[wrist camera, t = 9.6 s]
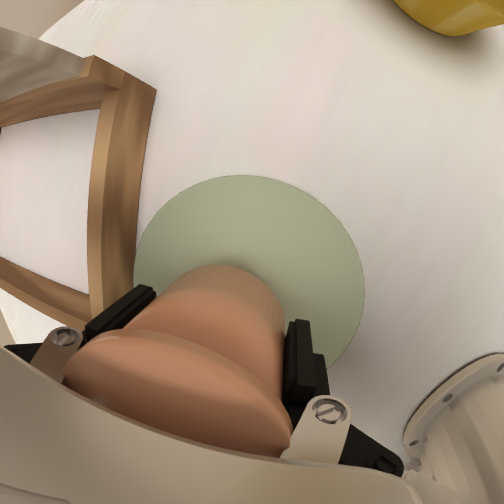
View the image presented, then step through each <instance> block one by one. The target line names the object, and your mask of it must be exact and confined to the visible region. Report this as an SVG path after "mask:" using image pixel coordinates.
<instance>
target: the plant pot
mask: <svg viewBox="0 0 504 504" xmlns="http://www.w3.org/2000/svg"><path fill="white" fill-rule="evenodd" d="M394 2H395V3H396V4H397V5H398V6H399V7H400V8H401V9H402V10H403V11H404V12H405V13H406V14H408V15H409V16H410V17H411V18H413V19H414V20H415V21H417V22H418V23H420V24H421V25H423V26H424V27H426V28H428V29H430V30H432V31H435V32H437V33H440V34H443V35H447V36H461V35H465V34H468V33H471V32H474V31H477V30H481V29H485V28H489V27H493V26H497V25H502V24H504V0H394Z"/></svg>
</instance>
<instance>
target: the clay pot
mask: <svg viewBox="0 0 504 504" xmlns="http://www.w3.org/2000/svg"><path fill="white" fill-rule="evenodd" d="M285 336H286V322H285V315H284V312H283V309H282V306H281V304H280V302H279V300H278V299H277V297H276V296H275V294H274V293H273V292H272V290H271V289H270V288H269V287H268V286H267V285H266V284H265V283H264V282H262V281H261V280H260V279H258V278H257V277H256V276H254V275H252V274H250V273H248V272H247V271H244V270H241V269H239V268H236V267H232V266H227V265H204V266H200V267H196V268H193V269H191V270H189V271H187V272H185V273H184V274H182V275H181V276H180V277H178V278H177V279H176V280H175V281H174V282H173V283H172V284H170V285H169V286H168V287H167V288H166V289H165V290H164V291H163V292H162V293H161V294H159V295H158V296H157V297H156V298H155V299H154V300H153V301H152V302H151V303H150V304H149V305H148V306H146V307H145V308H144V309H143V310H142V311H141V312H140V313H139V314H138V315H137V316H136V317H135V318H134V319H132V320H131V321H130V322H129V323H128V324H127V325H126V326H125V327H124V328H123V329H117V330H110V331H107V332H104V333H101V334H99V335H97V336H96V337H94V338H92V339H91V340H90V341H89V342H88V343H86V344H85V345H84V346H83V347H82V348H81V349H80V350H79V351H77V352H76V353H75V354H74V355H73V356H72V357H71V358H70V359H69V360H68V361H67V363H66V365H65V367H64V369H63V373H62V374H64V375H65V377H66V380H67V383H68V386H69V389H71V390H73V391H74V392H76V393H78V394H80V395H82V396H84V397H86V398H88V399H90V400H92V401H94V402H96V403H98V404H100V405H102V406H104V407H106V408H108V409H110V410H112V411H114V412H117V413H119V414H121V415H124V416H126V417H128V418H131V419H133V420H136V421H138V422H141V423H143V424H146V425H148V426H151V427H154V428H156V429H159V430H162V431H165V432H168V433H171V434H174V435H177V436H180V437H184V438H187V439H190V440H194V441H197V442H201V443H205V444H208V445H212V446H216V447H221V448H225V449H229V450H234V451H239V452H244V453H250V454H255V455H261V456H268V457H274V458H280V456H281V454H282V453H283V451H284V449H285V447H290V439H291V436H292V434H293V425H292V422H291V419H290V416H289V414H288V412H287V411H286V409H285V407H284V406H283V404H282V392H283V375H284V356H285Z"/></svg>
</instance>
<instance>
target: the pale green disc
mask: <svg viewBox="0 0 504 504" xmlns="http://www.w3.org/2000/svg"><path fill="white" fill-rule="evenodd" d="M204 265H227V266H232V267H236V268H239V269H241V270H244V271H247V272H248V273H250V274H252V275H254V276H256V277H257V278H258V279H260V280H261V281H262V282H264V283H265V284H266V285H267V286H268V287H269V288H270V289H271V290H272V292H273V293H274V294H275V296H276V297H277V299H278V300H279V302H280V304H281V306H282V309H283V312H284V315H285V322H286V334H287V330H288V326H289V322H290V321H293V322H295V319H296V318H297V319H302V320H308V321H310V329H311V337H312V346H313V353H317V354H323V355H324V358H325V364H326V369H327V368H328V367H330V366H331V365H332V364H333V363H334V362H335V361H336V360H337V359H338V358H339V357H340V355H341V354H342V353H343V352H344V351H345V349H346V348H347V346H348V345H349V343H350V342H351V340H352V338H353V337H354V334H355V332H356V330H357V328H358V325H359V322H360V319H361V315H362V311H363V305H364V297H365V289H364V276H363V270H362V265H361V262H360V259H359V256H358V253H357V250H356V248H355V246H354V244H353V242H352V240H351V238H350V236H349V234H348V233H347V231H346V230H345V229H344V227H343V226H342V224H341V223H340V222H339V220H338V219H337V218H336V217H335V216H334V215H333V214H332V213H331V212H330V211H329V210H328V209H327V208H326V207H325V206H324V205H322V204H321V203H320V202H318V201H317V200H316V199H315V198H313V197H312V196H310V195H308V194H307V193H305V192H303V191H301V190H300V189H298V188H296V187H294V186H291V185H289V184H286V183H284V182H281V181H277V180H273V179H269V178H265V177H259V176H248V175H237V176H225V177H219V178H214V179H210V180H207V181H204V182H201V183H198V184H196V185H193V186H192V187H190V188H188V189H186V190H184V191H182V192H180V193H179V194H178V195H176V196H175V197H174V198H172V199H171V200H169V201H168V202H167V203H166V204H165V205H164V206H163V207H162V208H161V209H160V210H159V211H158V212H157V213H156V215H155V216H154V217H153V219H152V220H151V221H150V223H149V224H148V226H147V228H146V230H145V232H144V234H143V235H142V238H141V240H140V243H139V246H138V249H137V253H136V257H135V262H134V274H133V279H134V288H135V287H136V286H137V285H139V284H143V285H146V286H150V287H152V288H153V291H156V295H157V296H158V295H159V294H161V293H162V292H163V291H164V290H165V289H166V288H167V287H168V286H169V285H170V284H172V283H173V282H174V281H175V280H176V279H177V278H178V277H180V276H181V275H182V274H184V273H185V272H187V271H189V270H191V269H193V268H196V267H200V266H204ZM157 296H156V297H157ZM285 337H286V336H285Z"/></svg>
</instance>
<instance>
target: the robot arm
mask: <svg viewBox="0 0 504 504" xmlns="http://www.w3.org/2000/svg"><path fill="white" fill-rule="evenodd" d="M156 296H157V295H156V291H153V288H152V287H150V286H146V285H143V284H139V285H137V286H136V287H135V288H133V289H132V290H131V291H129V292H128V293H126V294H125V295H124V296H122V297H121V298H120V299H118V300H117V301H116V302H115V303H113V304H112V305H111V306H109V307H108V308H107V309H105V310H104V311H103V312H101V313H100V314H99V315H98V316H96V317H95V318H94V319H92V320H91V321H90V322H88V323H87V324H86V325H85V330H83V331H82V332H81V331H80V330H78V329H77V328H74V327H68V326H65V327H59V328H56V329H54V330H52V331H51V332H50V333H49V335H48V336H47V337H46V339H45V340H44V342H43V343H32V344H16V345H6V346H4V347H2V346H0V504H504V354H494V355H489V356H487V357H484V358H482V359H479V360H477V361H476V362H474V363H472V364H470V365H468V366H467V367H465V368H464V369H462V370H461V371H459V372H458V373H456V374H455V375H454V376H452V377H451V378H450V379H449V380H447V381H446V382H445V383H444V384H442V385H441V386H440V387H439V388H438V389H437V390H436V391H435V392H434V393H433V394H431V396H430V397H429V398H428V399H427V400H426V401H425V402H424V403H423V404H422V405H421V406H420V408H419V409H418V410H417V411H416V413H415V414H414V415H413V417H412V418H411V420H410V422H409V423H408V425H407V427H406V430H405V432H404V437H403V442H404V446H405V450H406V452H407V454H408V455H409V456H411V457H412V458H415V459H419V460H420V461H421V464H422V465H421V466H420V467H419V470H418V472H416V471H414V470H412V469H410V470H409V471H406V470H405V469H404V466H403V462H402V461H401V459H400V458H399V457H398V456H397V455H396V454H395V453H393V452H391V451H390V450H388V449H387V448H385V447H384V446H382V445H381V444H379V443H378V442H376V441H375V440H373V439H372V438H370V437H369V436H367V435H366V434H364V433H363V432H361V431H360V430H358V429H357V428H356V427H354V426H353V425H351V424H350V422H351V418H352V411H351V409H350V407H349V406H348V404H347V403H346V402H344V401H343V400H341V399H339V398H337V397H334V396H330V391H329V384H328V377H327V370H326V364H325V358H324V355H323V354H317V353H313V346H312V337H311V329H310V321H308V320H302V319H297V318H296V319H295V322H293V321H290V322H289V326H288V330H287V334H286V337H285V356H284V375H283V392H282V404H283V406H284V407H285V409H286V411H287V412H288V414H289V416H290V419H291V422H292V425H293V434H292V436H291V439H290V447H285V449H284V451H283V453H282V454H281V456H280V458H274V457H268V456H261V455H255V454H250V453H244V452H239V451H234V450H229V449H225V448H221V447H216V446H212V445H208V444H205V443H201V442H197V441H194V440H190V439H187V438H184V437H180V436H177V435H174V434H171V433H168V432H165V431H162V430H159V429H156V428H154V427H151V426H148V425H146V424H143V423H141V422H138V421H136V420H133V419H131V418H128V417H126V416H124V415H121V414H119V413H117V412H114V411H112V410H110V409H108V408H106V407H104V406H102V405H100V404H98V403H96V402H94V401H92V400H90V399H88V398H86V397H84V396H82V395H80V394H78V393H76V392H74V391H73V390H71V389H69V386H68V383H67V380H66V377H65V375H64V374H62V373H63V369H64V367H65V365H66V363H67V361H68V360H69V359H70V358H71V357H72V356H73V355H74V354H75V353H76V352H77V351H79V350H80V349H81V348H82V347H83V346H84V345H85V344H86V343H88V342H89V341H90V340H91V339H92V338H94V337H96V336H97V335H99V334H101V333H104V332H107V331H110V330H117V329H123V328H124V327H125V326H126V325H127V324H128V323H129V322H130V321H131V320H132V319H134V318H135V317H136V316H137V315H138V314H139V313H140V312H141V311H142V310H143V309H144V308H145V307H146V306H148V305H149V304H150V303H151V302H152V301H153V300H154V299H155V298H156Z"/></svg>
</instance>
